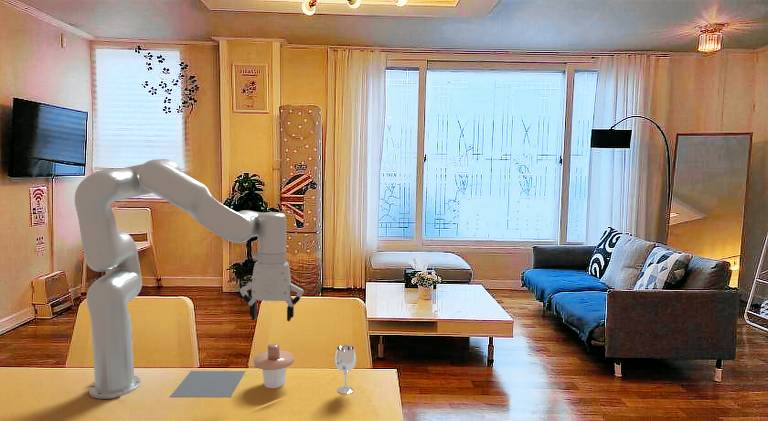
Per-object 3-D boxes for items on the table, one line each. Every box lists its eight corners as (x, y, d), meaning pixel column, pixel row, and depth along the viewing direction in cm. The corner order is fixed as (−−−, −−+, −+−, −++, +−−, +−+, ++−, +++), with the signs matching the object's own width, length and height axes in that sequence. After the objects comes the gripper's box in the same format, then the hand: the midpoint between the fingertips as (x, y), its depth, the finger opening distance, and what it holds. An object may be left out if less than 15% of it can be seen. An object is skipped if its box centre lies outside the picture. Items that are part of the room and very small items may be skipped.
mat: (169, 399, 137) (169, 396, 137) (191, 372, 153) (191, 370, 153) (230, 399, 137) (230, 397, 137) (245, 372, 153) (245, 371, 153)
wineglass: (352, 396, 140) (353, 353, 138) (332, 393, 141) (332, 351, 139) (358, 386, 145) (358, 345, 144) (338, 384, 146) (338, 343, 145)
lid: (245, 361, 144) (245, 345, 144) (279, 350, 152) (278, 335, 152) (268, 373, 137) (267, 357, 136) (301, 361, 145) (301, 346, 144)
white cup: (257, 385, 145) (256, 361, 144) (277, 377, 150) (277, 354, 149) (271, 393, 141) (271, 368, 140) (292, 385, 146) (291, 361, 145)
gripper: (236, 260, 137) (236, 322, 139) (301, 262, 137) (301, 324, 139) (243, 254, 145) (244, 313, 147) (306, 256, 145) (305, 315, 147)
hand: (271, 319), depth 143 cm, fingers open, 9 cm apart
